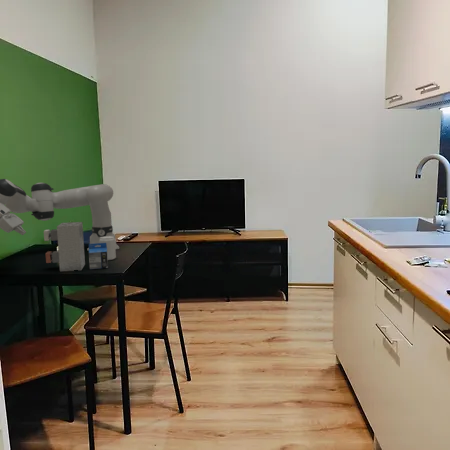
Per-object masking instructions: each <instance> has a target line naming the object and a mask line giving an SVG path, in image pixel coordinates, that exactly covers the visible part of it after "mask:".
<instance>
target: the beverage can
mask: <svg viewBox="0 0 450 450" xmlns="http://www.w3.org/2000/svg"><path fill="white" fill-rule="evenodd" d="M115 239H116V237H115V238H114V237H113V236H104V237H100V243H106V245H107V258H108V261H112V260H115V259H116V258H117V254H116V253H117V252H116V250H117V249H115Z"/></svg>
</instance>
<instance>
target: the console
mask: <svg viewBox="0 0 450 450" xmlns="http://www.w3.org/2000/svg"><path fill="white" fill-rule="evenodd" d="M50 233H51V239H50V240H51V241H53V242H54V241H57V247H58V248H57V249H58V250H55V251H52V263H53V264H56V263H59V272H75V271H74V270H78V271H83V268H84V267H85V265H86V261H85V244H84V227H83V221H77V222H76V221H75V222H74V221H73V222H61V223H60V224H58V225H57V226H56V229H51V230H50Z"/></svg>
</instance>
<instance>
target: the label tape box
mask: <svg viewBox="0 0 450 450" xmlns="http://www.w3.org/2000/svg"><path fill="white" fill-rule="evenodd" d="M97 245H100V247H95V246H97ZM88 248H89V250H88V264H89V270H97V269H108V268H109V262H108V261H109V260H108V258H107V245H106V243H94V244H90V243H88Z"/></svg>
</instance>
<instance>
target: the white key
mask: <svg viewBox="0 0 450 450" xmlns="http://www.w3.org/2000/svg"><path fill="white" fill-rule="evenodd" d="M50 231H51V230H50V229H44V230H43V238H44V240H43V241H44V242H49V241H50V240H51V232H50Z"/></svg>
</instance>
